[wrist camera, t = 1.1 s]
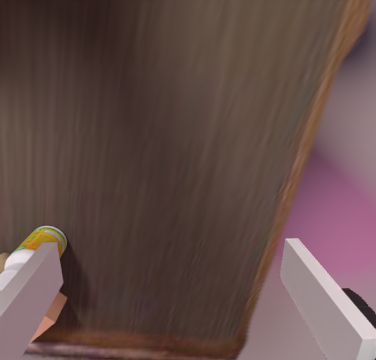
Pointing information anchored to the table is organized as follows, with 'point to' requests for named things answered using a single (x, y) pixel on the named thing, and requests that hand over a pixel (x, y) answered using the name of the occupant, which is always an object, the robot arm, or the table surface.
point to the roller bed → (3, 261)
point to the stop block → (51, 314)
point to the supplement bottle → (31, 251)
